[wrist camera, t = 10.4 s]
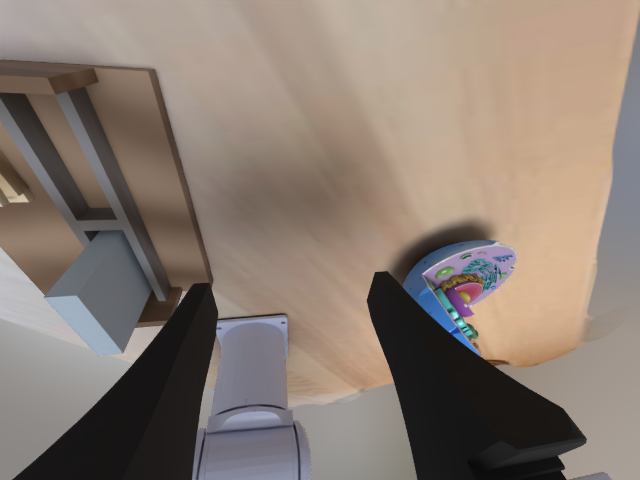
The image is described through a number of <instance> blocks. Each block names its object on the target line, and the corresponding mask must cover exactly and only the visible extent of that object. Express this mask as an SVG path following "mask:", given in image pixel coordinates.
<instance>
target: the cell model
mask: <svg viewBox="0 0 640 480" xmlns="http://www.w3.org/2000/svg"><path fill="white" fill-rule="evenodd" d="M516 263H517V253H516V251H515V250H514V249H513V248H511V247H510V246H506V245H502V244H499V242H498V241H491V240H474V241H465V242H459V243H455V244H451V245H448V246H444V247H442V248H439V249H437V250H435V251H433V252H431V253H429V254H428V255H426V256H425V257H423V258H422V259H421V260H420V261H419V262H418V263H417V264H416V265H415V266H414V267H413V268H412V269H411V271H410V272H409V273H408V275H407V277H406V278H405V280H404V282H403V285H402V287H403V288H404V289H405V290H406V291H407V292H408V294H409V295H410V296H411V297H412V298H413V299H414V300H415V301H416V302H417V303H418V304H419V305H420V306H421V307H422V308H423V309H424V310H425V311H426V312H427V313H428V314H429V315H430V316H431V317H433V318H434V319H435V320H436V321H437V322H438V323H439V324H440V325H441V326H442V327H444V328H445V329H446V330H447V331H448V332H449V333H451V334H452V335H453V336H454V337H456V338H457V339H458V340H459V341H460V342H462V343H463V344H464V345H465V346H467V347H468V348H469V349H471V350H472V351H473V352H475V353H476V354H477V355H482V352H481V350H480V348H479V346H478V344H477V342H476V340H475V339H478V338H479V334H478V332H477V331H476V330H475V329H474V327H473V326H472V325H470V324H468V323H467V324H466V323H465V321H464V319H463V317H469V316H472V315H475V314H474V313H473V311H472V310H471V308H470V307H471V306H473V305H475V304H476V303H478V302H480V301H481V300H483V299H485V298H486V297H488V296H489V295H490V294H492V293H493V292H494V291H495V290H497V289H498V288H499V287H500V286H501V285H502V284H503V283H504V282H505V281H506V280H507V279H508V278H509V277H510V276H511V274H512V273H513V272H514V270H515V268H513V267H512V266H513V265H514V264H516Z"/></svg>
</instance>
